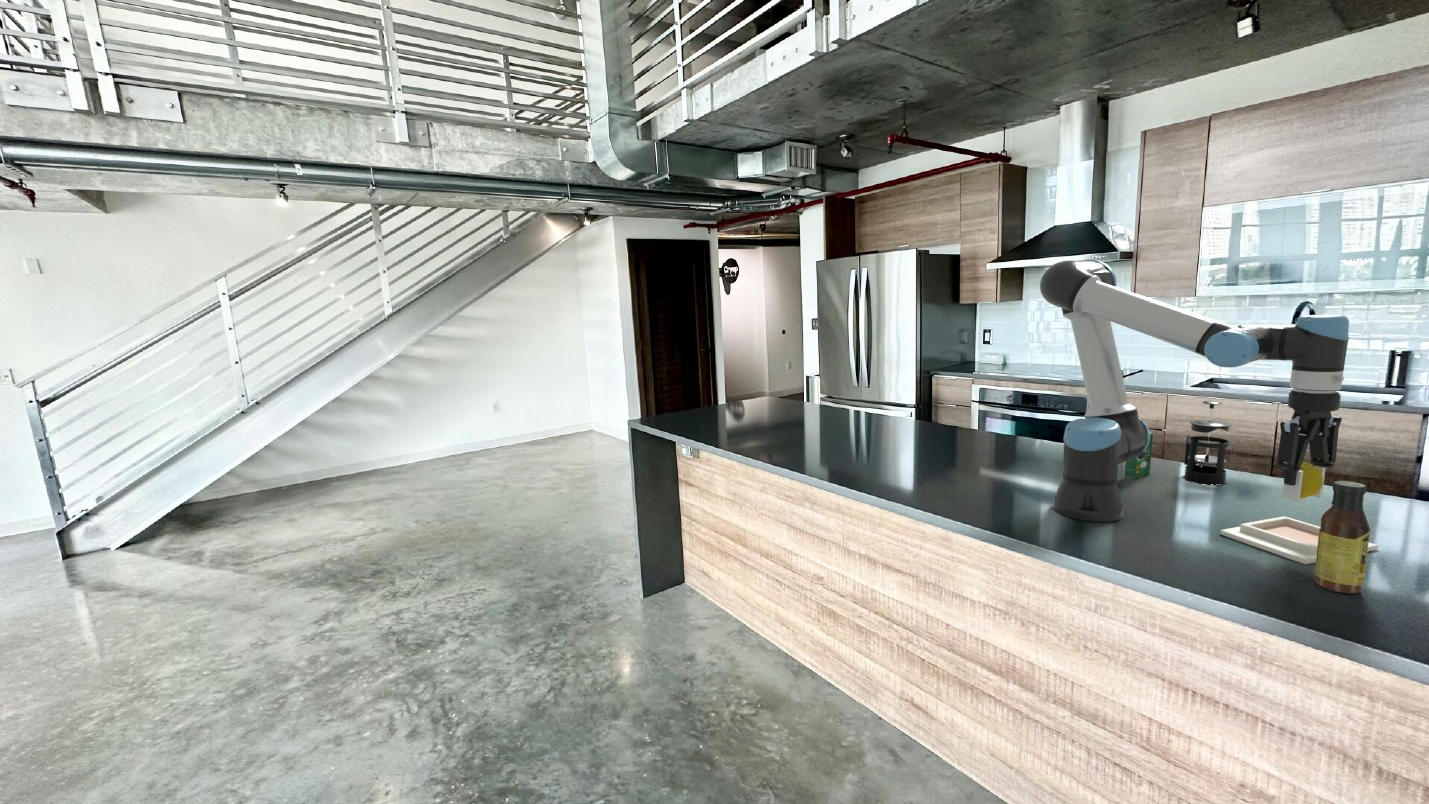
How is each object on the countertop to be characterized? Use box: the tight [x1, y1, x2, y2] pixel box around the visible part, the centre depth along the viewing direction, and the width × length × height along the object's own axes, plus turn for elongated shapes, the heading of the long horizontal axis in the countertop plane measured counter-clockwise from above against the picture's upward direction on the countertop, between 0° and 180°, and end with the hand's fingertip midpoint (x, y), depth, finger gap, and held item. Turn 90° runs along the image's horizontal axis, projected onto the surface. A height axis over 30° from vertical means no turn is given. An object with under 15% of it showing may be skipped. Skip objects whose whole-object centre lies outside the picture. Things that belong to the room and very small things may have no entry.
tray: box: [1219, 515, 1379, 565], centre depth 126 cm, size 20×16×2 cm
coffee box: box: [1123, 432, 1154, 480], centre depth 172 cm, size 8×3×13 cm, turn 114°
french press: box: [1183, 400, 1232, 486], centre depth 165 cm, size 12×9×23 cm
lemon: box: [1300, 462, 1324, 499], centre depth 124 cm, size 6×6×8 cm
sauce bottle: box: [1314, 480, 1371, 595], centre depth 106 cm, size 6×6×20 cm
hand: (1301, 497), depth 125 cm, fingers closed on lemon, 5 cm apart
